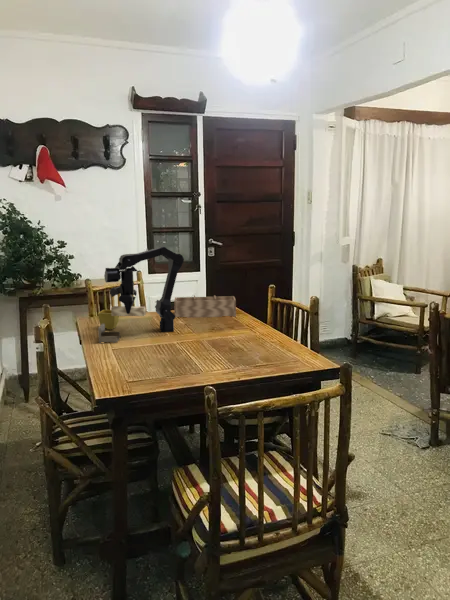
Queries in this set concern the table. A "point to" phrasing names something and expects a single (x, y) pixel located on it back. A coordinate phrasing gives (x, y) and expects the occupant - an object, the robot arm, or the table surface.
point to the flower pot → (108, 319)
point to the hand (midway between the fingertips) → (128, 312)
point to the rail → (133, 312)
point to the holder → (205, 306)
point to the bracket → (107, 335)
